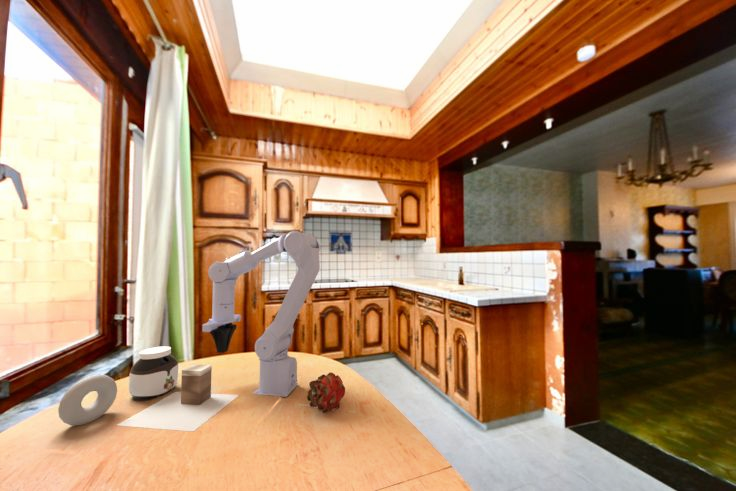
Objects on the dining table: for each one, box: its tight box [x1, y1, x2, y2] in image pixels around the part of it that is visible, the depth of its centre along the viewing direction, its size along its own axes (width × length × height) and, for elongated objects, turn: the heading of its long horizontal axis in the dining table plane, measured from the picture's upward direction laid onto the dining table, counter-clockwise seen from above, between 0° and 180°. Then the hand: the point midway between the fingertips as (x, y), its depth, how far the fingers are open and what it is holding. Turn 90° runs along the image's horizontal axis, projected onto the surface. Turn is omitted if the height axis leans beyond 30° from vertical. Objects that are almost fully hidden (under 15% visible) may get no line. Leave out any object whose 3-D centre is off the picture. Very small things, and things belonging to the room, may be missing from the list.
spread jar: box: [128, 345, 179, 401], centre depth 77 cm, size 12×11×12 cm
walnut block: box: [180, 364, 213, 405], centre depth 71 cm, size 5×4×8 cm
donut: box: [57, 374, 118, 426], centre depth 63 cm, size 10×4×10 cm, turn 161°
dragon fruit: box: [306, 372, 346, 413], centre depth 69 cm, size 8×8×12 cm
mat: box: [115, 391, 240, 433], centre depth 67 cm, size 18×16×1 cm
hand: (222, 351), depth 81 cm, fingers closed
